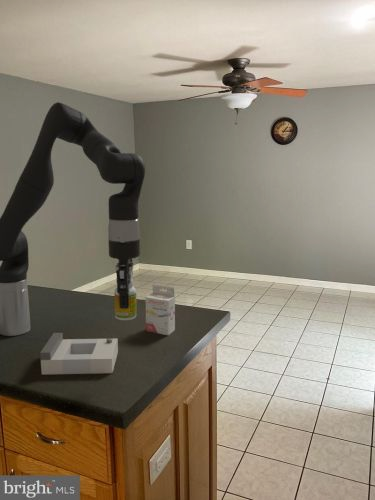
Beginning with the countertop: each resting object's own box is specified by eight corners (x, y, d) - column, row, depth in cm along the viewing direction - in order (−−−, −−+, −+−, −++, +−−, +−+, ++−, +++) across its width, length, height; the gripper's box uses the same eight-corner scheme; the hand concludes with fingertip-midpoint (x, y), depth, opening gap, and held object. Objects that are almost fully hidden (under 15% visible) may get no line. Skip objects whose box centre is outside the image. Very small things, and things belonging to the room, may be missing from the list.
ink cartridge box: (145, 331, 137) (144, 287, 134) (152, 326, 141) (152, 283, 138) (168, 335, 133) (168, 291, 130) (175, 330, 138) (175, 287, 135)
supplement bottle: (132, 321, 103) (131, 283, 101) (111, 319, 104) (110, 281, 102) (139, 314, 108) (138, 277, 106) (119, 312, 109) (118, 276, 108)
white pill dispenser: (41, 374, 108) (40, 352, 107) (54, 352, 121) (53, 332, 120) (112, 373, 109) (111, 351, 108) (118, 351, 122) (117, 331, 121)
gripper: (112, 232, 109) (113, 295, 113) (104, 242, 95) (106, 314, 98) (141, 232, 110) (142, 295, 113) (137, 242, 95) (138, 313, 99)
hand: (125, 303), depth 106 cm, fingers closed on supplement bottle, 5 cm apart
